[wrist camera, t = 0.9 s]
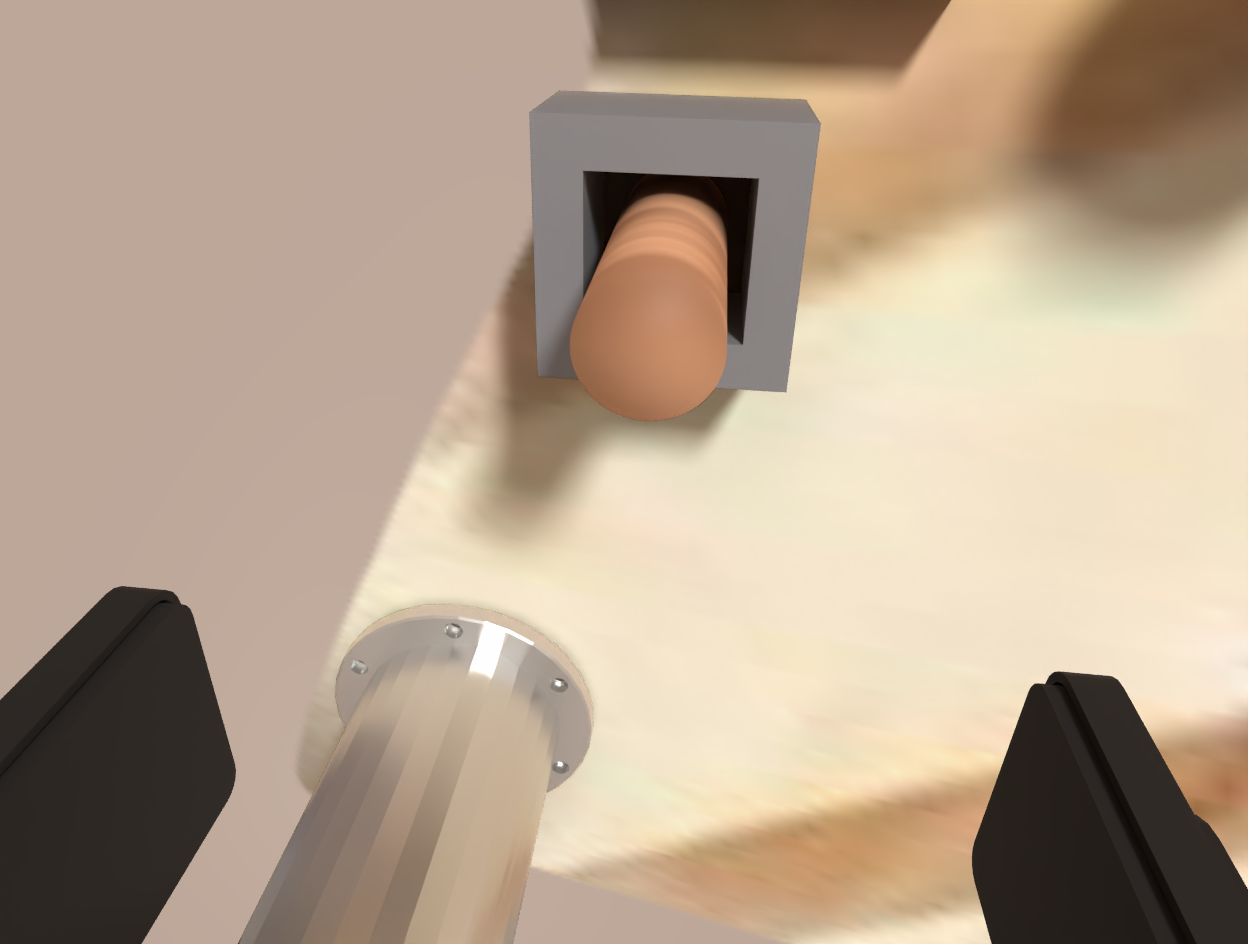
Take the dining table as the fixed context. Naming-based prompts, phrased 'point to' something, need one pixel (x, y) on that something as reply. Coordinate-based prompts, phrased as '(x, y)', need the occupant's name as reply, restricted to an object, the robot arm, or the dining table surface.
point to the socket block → (677, 145)
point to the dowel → (657, 302)
